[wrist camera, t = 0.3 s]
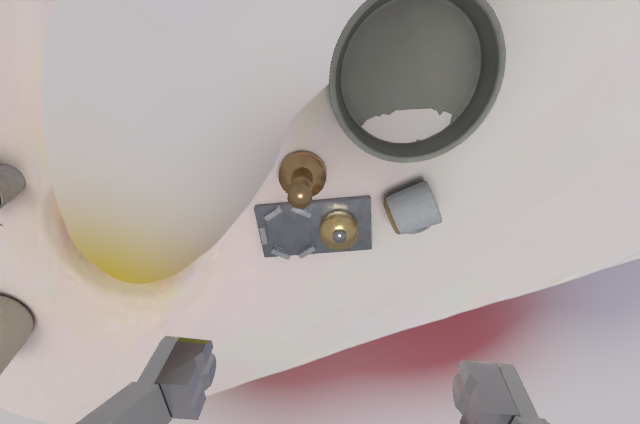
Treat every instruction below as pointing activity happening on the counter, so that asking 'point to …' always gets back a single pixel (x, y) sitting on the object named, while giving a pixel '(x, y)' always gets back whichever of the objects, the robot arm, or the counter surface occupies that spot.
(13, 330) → the canister
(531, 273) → the counter surface
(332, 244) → the carrier plate
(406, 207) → the ceramic mug
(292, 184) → the brass joystick knob
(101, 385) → the counter surface
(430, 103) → the cake pan
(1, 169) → the house plant
